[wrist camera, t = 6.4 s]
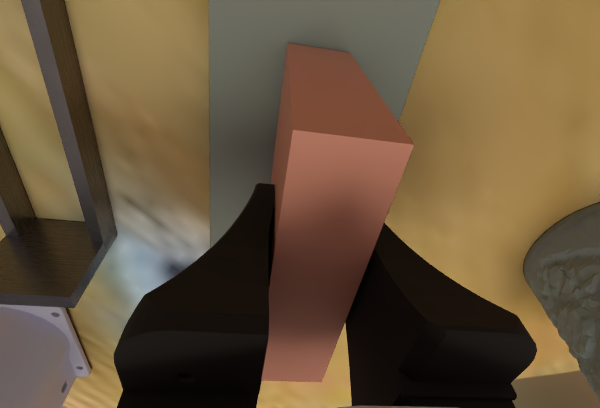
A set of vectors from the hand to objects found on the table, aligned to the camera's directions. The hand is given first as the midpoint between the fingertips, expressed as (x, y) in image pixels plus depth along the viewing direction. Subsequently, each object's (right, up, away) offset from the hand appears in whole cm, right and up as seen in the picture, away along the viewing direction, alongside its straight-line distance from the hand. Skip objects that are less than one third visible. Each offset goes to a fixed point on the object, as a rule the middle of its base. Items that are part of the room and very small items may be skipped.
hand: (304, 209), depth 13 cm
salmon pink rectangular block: (0, +2, +3) cm, 4 cm away
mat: (0, +3, +4) cm, 5 cm away
